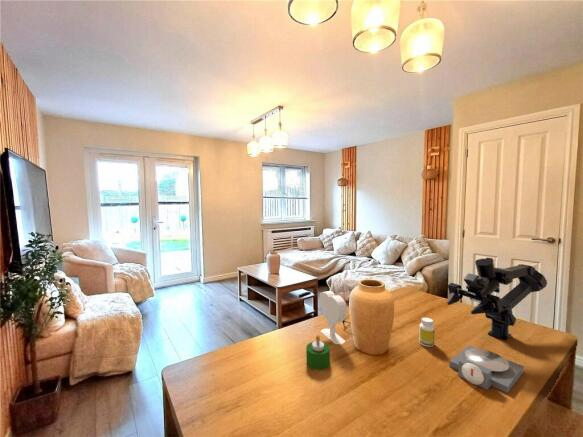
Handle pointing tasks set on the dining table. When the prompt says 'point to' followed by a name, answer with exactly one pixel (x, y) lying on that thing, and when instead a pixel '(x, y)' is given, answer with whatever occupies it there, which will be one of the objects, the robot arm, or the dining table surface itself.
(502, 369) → the scale pan
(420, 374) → the dining table surface
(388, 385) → the dining table surface
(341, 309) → the heart sculpture
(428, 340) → the supplement bottle
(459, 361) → the scale housing
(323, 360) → the candle
